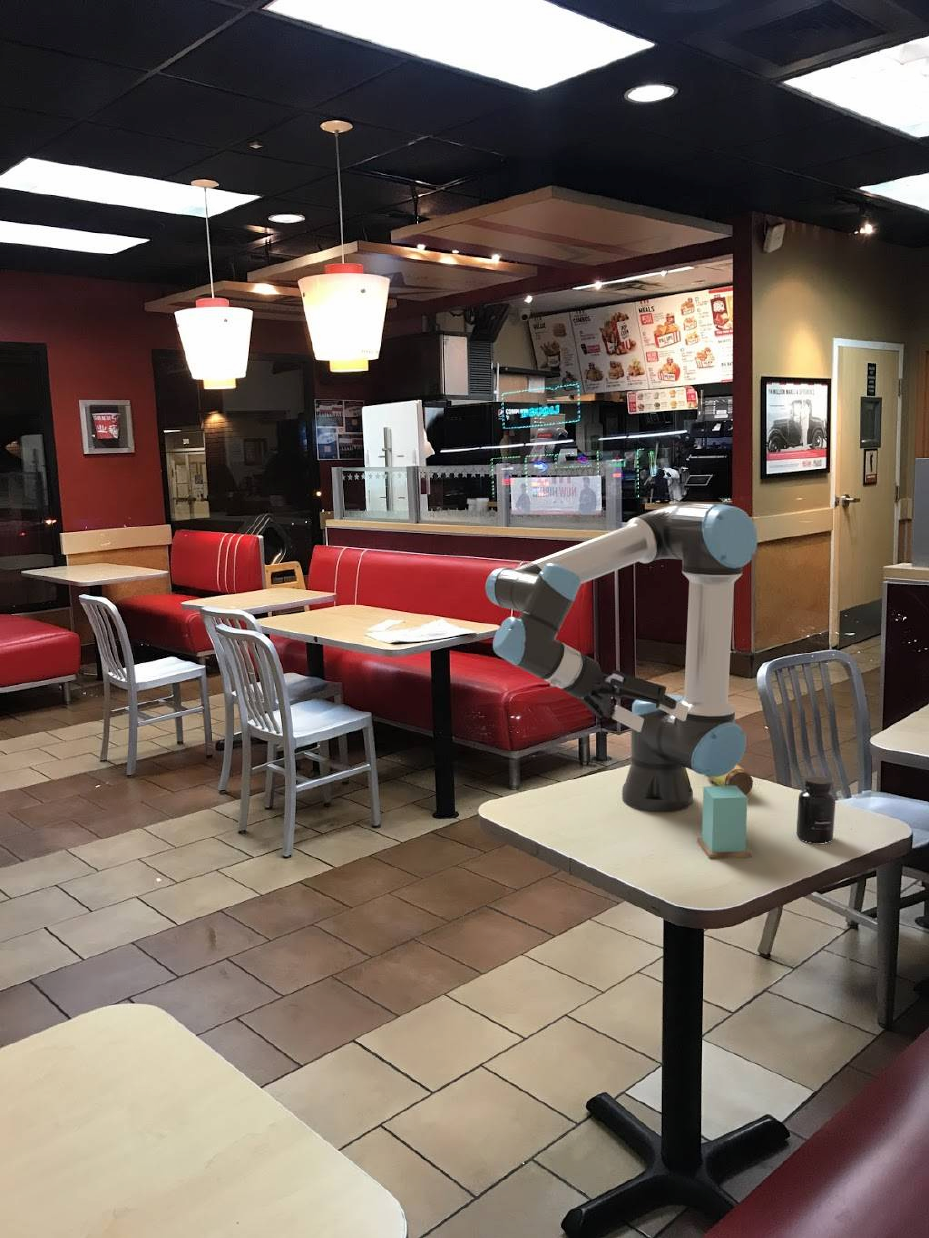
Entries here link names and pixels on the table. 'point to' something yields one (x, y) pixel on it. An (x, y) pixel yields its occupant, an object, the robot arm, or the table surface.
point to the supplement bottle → (816, 811)
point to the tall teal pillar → (724, 818)
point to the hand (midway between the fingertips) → (663, 720)
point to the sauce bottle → (735, 779)
